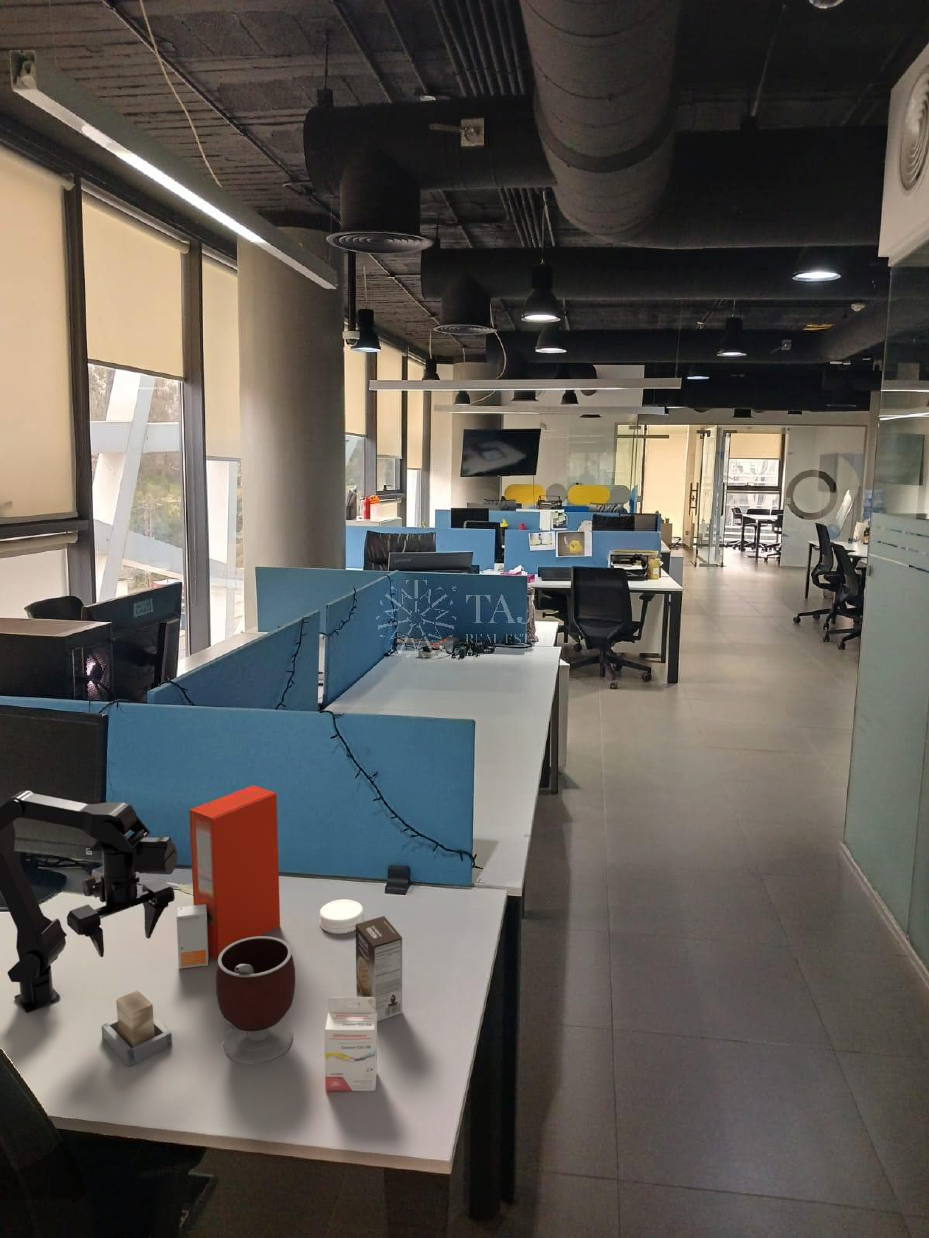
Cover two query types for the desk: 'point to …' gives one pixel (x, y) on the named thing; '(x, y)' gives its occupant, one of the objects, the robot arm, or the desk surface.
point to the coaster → (341, 916)
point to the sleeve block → (135, 1018)
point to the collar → (140, 1051)
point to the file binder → (236, 865)
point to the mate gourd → (256, 997)
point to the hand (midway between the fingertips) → (125, 946)
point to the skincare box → (192, 936)
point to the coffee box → (379, 965)
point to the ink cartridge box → (351, 1045)
